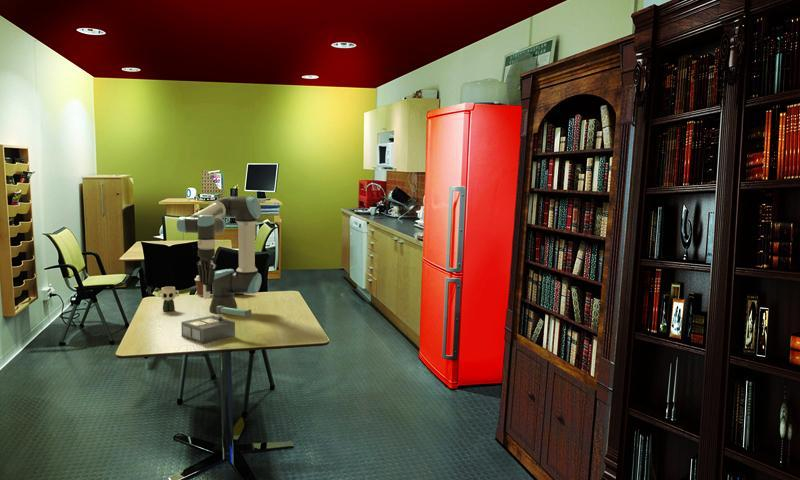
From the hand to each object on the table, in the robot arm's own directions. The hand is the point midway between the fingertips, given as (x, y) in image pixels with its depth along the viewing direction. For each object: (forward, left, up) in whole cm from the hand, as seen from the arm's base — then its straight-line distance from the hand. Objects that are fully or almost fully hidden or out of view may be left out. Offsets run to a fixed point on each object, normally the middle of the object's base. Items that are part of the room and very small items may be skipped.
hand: (206, 297), depth 264 cm
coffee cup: (-83, +50, -19) cm, 99 cm away
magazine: (-68, +65, -19) cm, 96 cm away
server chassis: (0, +1, -19) cm, 19 cm away
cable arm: (+8, +9, -8) cm, 15 cm away
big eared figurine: (-59, +14, -19) cm, 64 cm away
